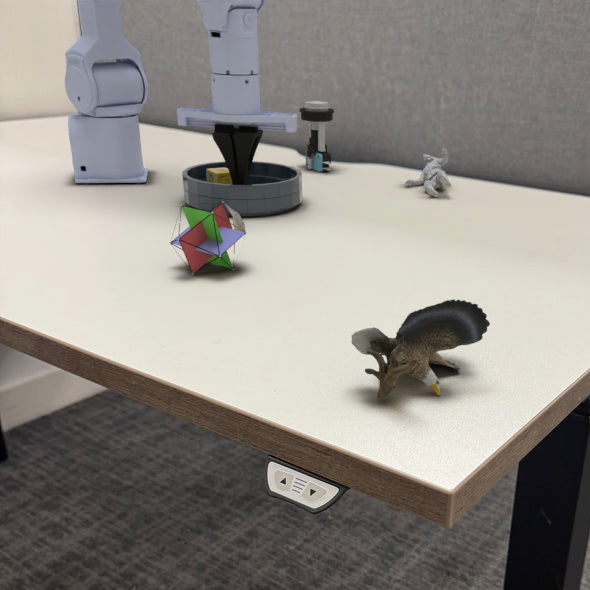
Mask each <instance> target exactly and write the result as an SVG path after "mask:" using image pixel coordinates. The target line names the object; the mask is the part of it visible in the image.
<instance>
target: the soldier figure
mask: <svg viewBox="0 0 590 590" xmlns="http://www.w3.org/2000/svg"><path fill="white" fill-rule="evenodd" d="M440 154H442V155H443V156H442V157H440V158H438V157H435V156H432V155H430V154H428V153H427V154H426V153H425V154H424V153H423V154H422V158H423V161H424V163H425V165H424V168H423V169H422V171H421V173H420V176H419V178H418V179H407V180H406V181H405V182H404V185H406V184H407V187H409V186H410V185H411V186H421V185H423V188H424V190H425V191H426V193H427V195H428V196H432V197H434V198H438V197H440V194H439V192H438V191H437V190H438V189H439V188H440V187H441V186H442V185H444V186H446V187H447V188H451V187H452V183H451V182H450V180H449V178H448V175H447V173H446V172H445V170H443V168H442V167H443V166H445V165H447V164H448V163H449V152H448V150H447V148H441V153H440Z"/></svg>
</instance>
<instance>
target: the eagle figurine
mask: <svg viewBox="0 0 590 590" xmlns="http://www.w3.org/2000/svg"><path fill="white" fill-rule="evenodd" d="M478 305H479V304H478V303H472V302H471V301H466V300H465V299H464V300H461V299H447V300H444V301H442V302H439V303H436V304H433V305H429V306H426V307H424V308H419V309H418V310H414V311H412V312H409V314H407V316H406V318H405V319H404V321H403V322H402V323H401V325H400V327H398V330H397V331H396V335H395V337H388V336H387V335H386V334H384V333H383V332H382V331H381V329H379V328H378V327H377V328H376V327H367V328H362V329H359V330H357V331H355V332H353V334H351V344H352V346H353V347H354V348H355V349H356V350H357V351H358V352H359V353H360V354H363V355H368V356H369V355H370V356H372V357H373V358H374V359H375V361H376V362H377V364H378V371H377V370H375V369H374V368H365V369H364V372H365V374H367V375H373V376H374V377H375V378H376V379H378V380H379V383H378V384H379V385H378V386H379V387H378V392H377V394H376V395H377V396H376V400H377V401H379V402H380V401H381V400H383V399H384V398H386V397H387V396H388V394H391V393H392V392H393V390H394V389H395V385H396V382H397V380H398V378H399V377H401V375H404V374H407V375H408V376H410V377H412V378H414V379H417V380H419V381H421V382H422V383H424V385H426V386H427V387H429V388H430V389H432V390H433V391H434V392H435V393H436V395H437V396H440V395H442V394H441V388H440V385H441V383H440V382H441V381H440V380H439V378H438V377H437V375H436V374H435V372H434V371H433V369H432V368H431V367H430V366H431V365H430V364H434V365H441V366H445V367H450V368H452V369H455V370H461V367H460V365H458V364H456V362H451V361H449V360H446V359H444V357H442V356H441V355H440V353H438V352H440V351H449V350H453V349H454V350H455V349H456V348H457V347H460V346H470V345H473V344H476V343H478V342H480V341H482V340H483V335H484V334H485V333H487V331H488V327H490V325H491V323H490V321H489V320H488V319H487V317H488V316H487V313H485V312H484V311H483V308H481V307H479V306H478ZM384 356H385V358H386V360H385V358H384Z"/></svg>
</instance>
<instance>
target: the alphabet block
mask: <svg viewBox="0 0 590 590" xmlns="http://www.w3.org/2000/svg"><path fill="white" fill-rule="evenodd" d="M206 178H207V182H211V183H219V184H232V180H231V176H230V173H229V170H228V168H225V167H223V168H209V169H206ZM232 185H233V184H232Z"/></svg>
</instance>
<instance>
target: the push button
mask: <svg viewBox="0 0 590 590" xmlns="http://www.w3.org/2000/svg"><path fill="white" fill-rule="evenodd" d="M298 112H300V120H302V121H304V122H305V123H306V124H308V132H309V133H308V137H309V138H308V143H309V144H307V145H306V149H305V167H306V168H308V169H309V170H314V171H316V172H319V173H320V172H329V171H332V170H333V169H332V168H330V165H333V163H332V154H331V153H330V152H329V151H328V145H327V144H326V125H327V124H329V122H331V121H332V120H334V119H333V118H334V116H333V114H334V113H335V109H334V108H331V107H330V106H329V102H327V101H322V100H308V101H304V106H303V107H300V108H299V111H298Z"/></svg>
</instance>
